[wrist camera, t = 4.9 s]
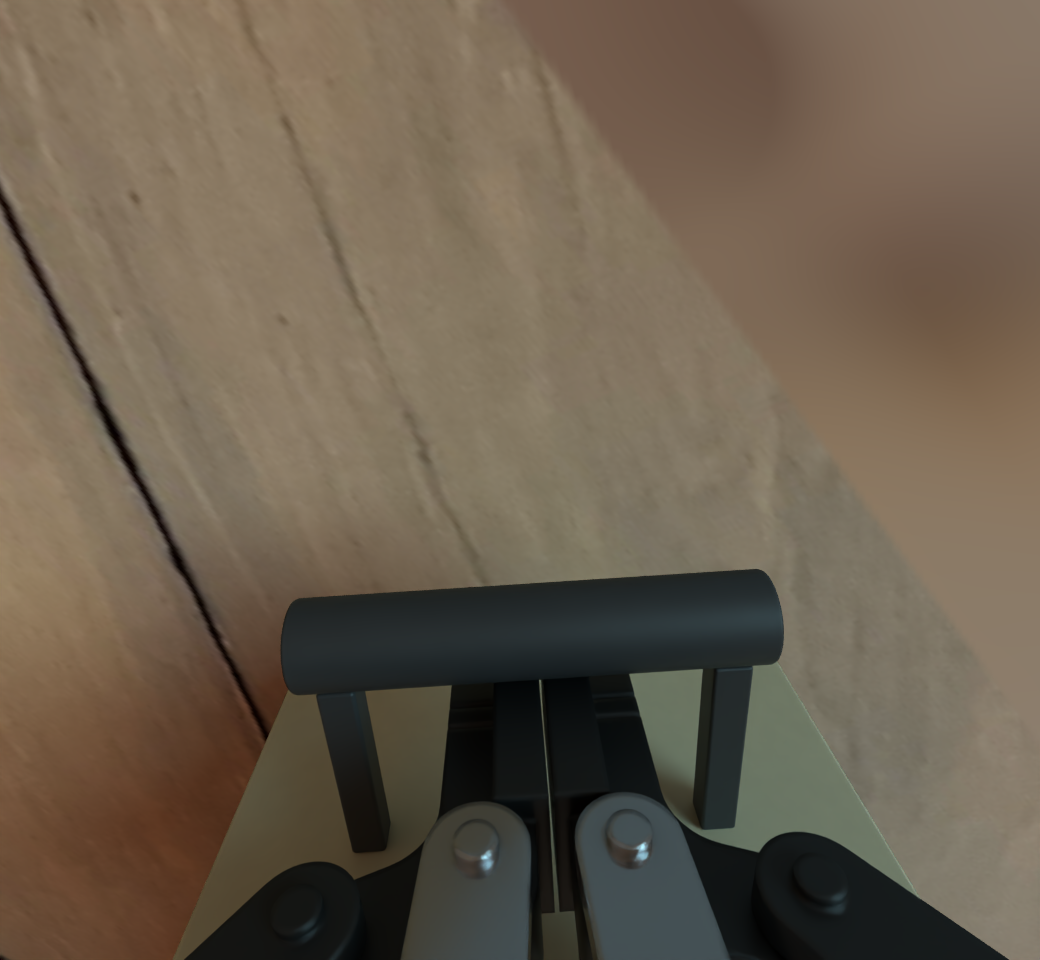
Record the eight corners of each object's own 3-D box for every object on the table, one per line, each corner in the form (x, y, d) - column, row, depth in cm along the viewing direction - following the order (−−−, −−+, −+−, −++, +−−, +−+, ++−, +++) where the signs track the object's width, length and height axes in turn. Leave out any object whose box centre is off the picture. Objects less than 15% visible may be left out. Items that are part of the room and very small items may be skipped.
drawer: (253, 480, 14) (-17, 788, 7) (783, 447, 14) (1093, 716, 7) (377, 990, 21) (315, 1395, 14) (721, 966, 21) (835, 1357, 14)
